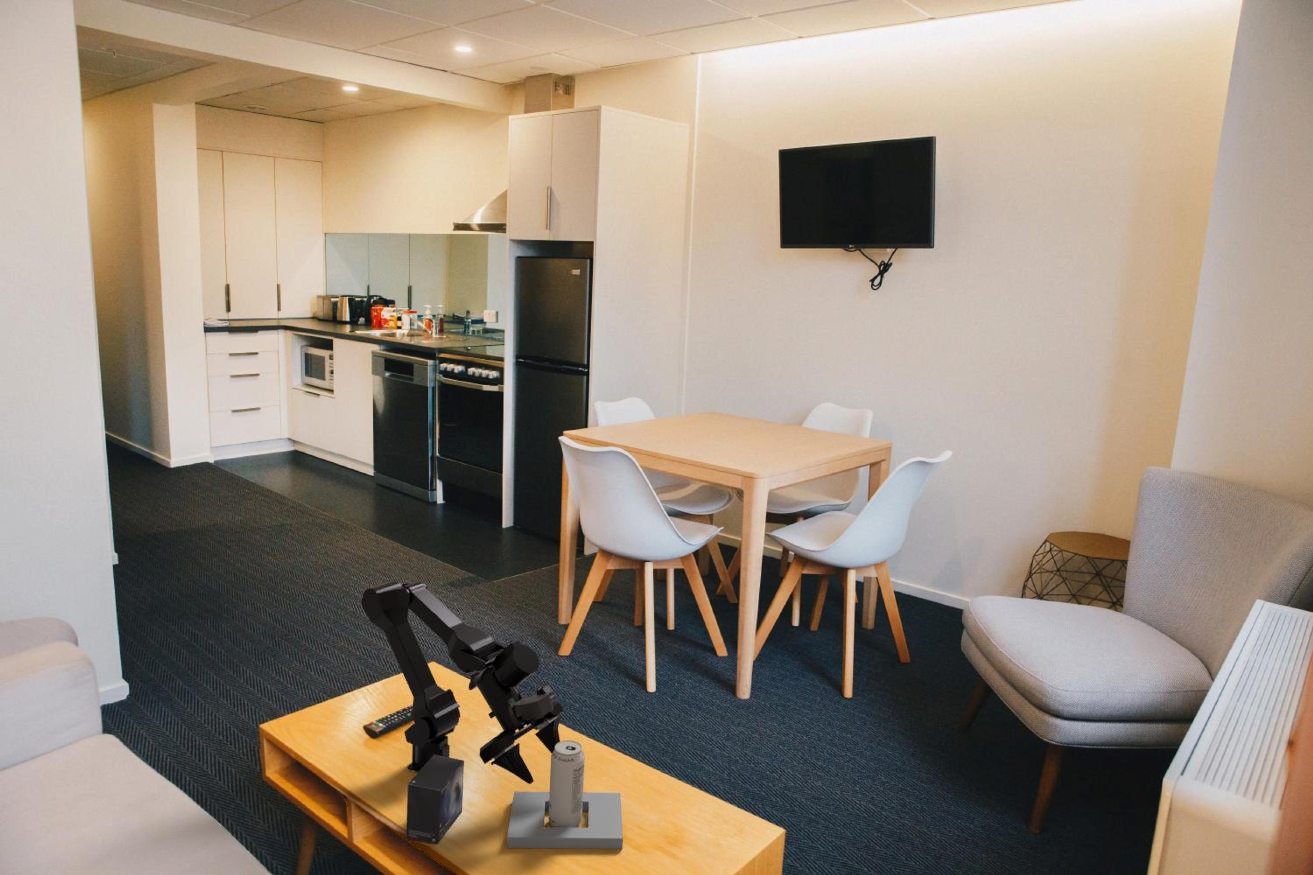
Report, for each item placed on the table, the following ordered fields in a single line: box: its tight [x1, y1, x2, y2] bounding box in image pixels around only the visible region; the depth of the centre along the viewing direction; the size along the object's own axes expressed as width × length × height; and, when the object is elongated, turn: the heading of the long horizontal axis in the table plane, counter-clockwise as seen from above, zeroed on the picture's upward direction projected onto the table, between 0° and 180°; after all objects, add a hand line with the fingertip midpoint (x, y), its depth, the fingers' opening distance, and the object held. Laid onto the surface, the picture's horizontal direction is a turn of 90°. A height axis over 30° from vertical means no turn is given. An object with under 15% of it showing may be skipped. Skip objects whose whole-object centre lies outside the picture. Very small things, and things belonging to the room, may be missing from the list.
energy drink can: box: [548, 739, 586, 828], centre depth 157 cm, size 6×6×15 cm
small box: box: [405, 755, 465, 845], centre depth 155 cm, size 11×6×10 cm, turn 168°
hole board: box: [506, 790, 624, 850], centre depth 158 cm, size 20×14×2 cm
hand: (547, 771), depth 159 cm, fingers open, 9 cm apart
